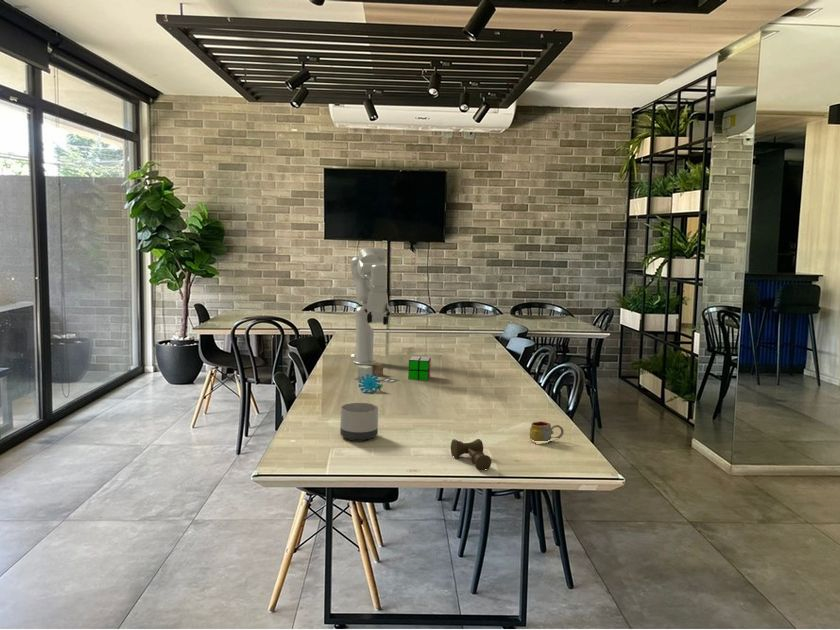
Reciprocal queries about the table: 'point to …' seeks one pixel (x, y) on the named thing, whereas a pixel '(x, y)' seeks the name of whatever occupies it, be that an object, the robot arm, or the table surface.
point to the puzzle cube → (419, 368)
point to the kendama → (471, 453)
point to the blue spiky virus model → (370, 383)
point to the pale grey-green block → (364, 371)
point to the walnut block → (377, 369)
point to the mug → (543, 431)
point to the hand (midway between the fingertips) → (377, 323)
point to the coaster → (389, 380)
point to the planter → (359, 421)
